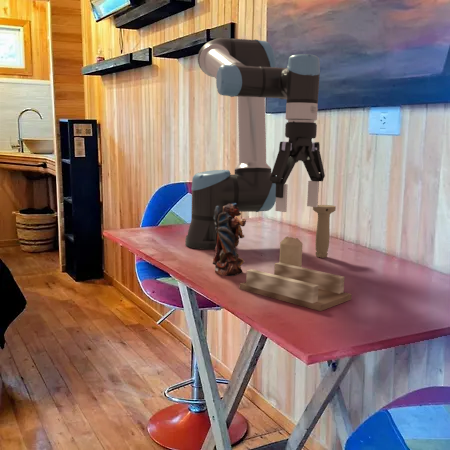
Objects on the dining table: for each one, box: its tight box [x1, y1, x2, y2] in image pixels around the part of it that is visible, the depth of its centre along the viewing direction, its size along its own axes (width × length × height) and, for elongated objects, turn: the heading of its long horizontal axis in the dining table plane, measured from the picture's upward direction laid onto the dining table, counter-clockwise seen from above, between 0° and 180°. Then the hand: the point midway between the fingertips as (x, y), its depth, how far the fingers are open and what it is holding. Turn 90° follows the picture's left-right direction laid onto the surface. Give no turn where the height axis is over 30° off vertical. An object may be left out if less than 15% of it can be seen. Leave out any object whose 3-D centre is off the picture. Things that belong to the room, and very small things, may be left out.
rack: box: [239, 262, 353, 312], centre depth 126 cm, size 22×12×5 cm, turn 47°
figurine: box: [212, 203, 247, 277], centre depth 143 cm, size 11×9×18 cm
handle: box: [312, 204, 337, 259], centre depth 163 cm, size 5×6×15 cm
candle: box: [278, 236, 303, 267], centre depth 141 cm, size 6×6×10 cm
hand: (297, 209), depth 139 cm, fingers open, 13 cm apart
